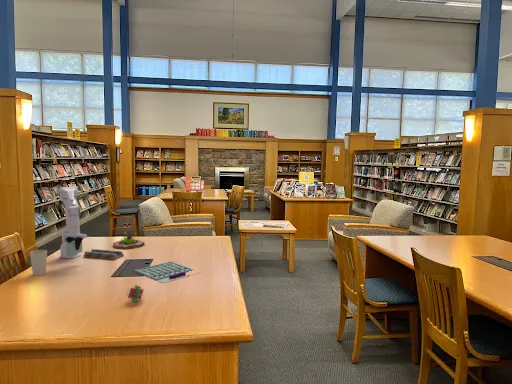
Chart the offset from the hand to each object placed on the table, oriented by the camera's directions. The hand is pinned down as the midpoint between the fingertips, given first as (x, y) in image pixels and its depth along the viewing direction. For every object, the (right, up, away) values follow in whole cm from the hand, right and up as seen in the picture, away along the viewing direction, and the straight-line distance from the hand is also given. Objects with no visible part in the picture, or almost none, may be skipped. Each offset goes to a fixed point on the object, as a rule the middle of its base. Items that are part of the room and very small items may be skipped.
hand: (74, 249), depth 212 cm
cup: (-11, -10, -16) cm, 22 cm away
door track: (+9, -7, +19) cm, 22 cm away
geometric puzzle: (+53, -15, -51) cm, 75 cm away
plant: (+14, -5, +48) cm, 50 cm away
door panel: (0, -2, 0) cm, 2 cm away
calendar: (+58, -11, -9) cm, 59 cm away
